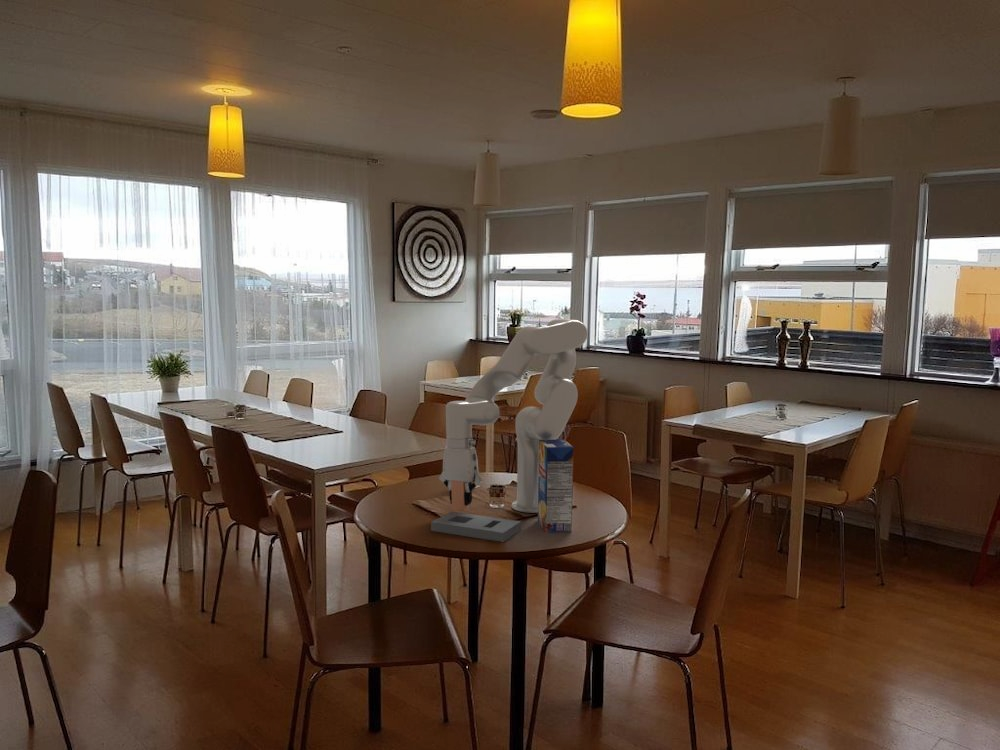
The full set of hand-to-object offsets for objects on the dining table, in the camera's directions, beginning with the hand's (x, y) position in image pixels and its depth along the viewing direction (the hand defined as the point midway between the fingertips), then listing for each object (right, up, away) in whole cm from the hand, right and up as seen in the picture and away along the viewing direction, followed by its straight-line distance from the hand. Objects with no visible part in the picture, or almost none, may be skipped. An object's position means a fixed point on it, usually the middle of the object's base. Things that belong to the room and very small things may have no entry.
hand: (460, 503), depth 227 cm
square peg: (0, -2, 0) cm, 2 cm away
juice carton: (+27, -5, -8) cm, 29 cm away
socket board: (+5, -5, -14) cm, 15 cm away
